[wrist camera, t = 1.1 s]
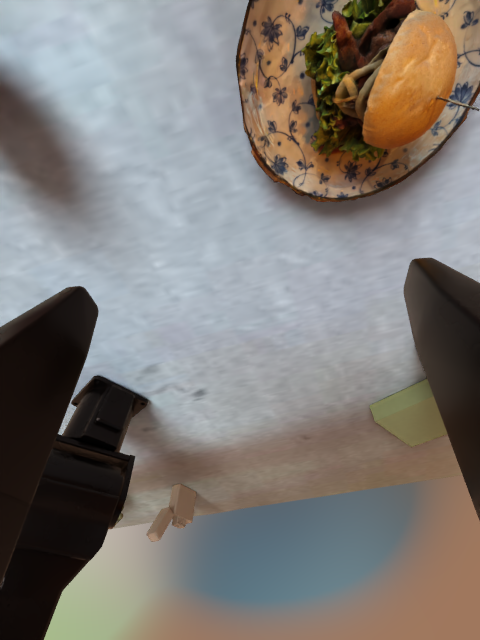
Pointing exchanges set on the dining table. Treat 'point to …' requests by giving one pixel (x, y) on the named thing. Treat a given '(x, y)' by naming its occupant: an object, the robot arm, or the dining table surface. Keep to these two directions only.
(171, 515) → the lighter
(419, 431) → the riser block
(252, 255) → the dining table surface
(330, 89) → the wood slice pumpkin decoration
